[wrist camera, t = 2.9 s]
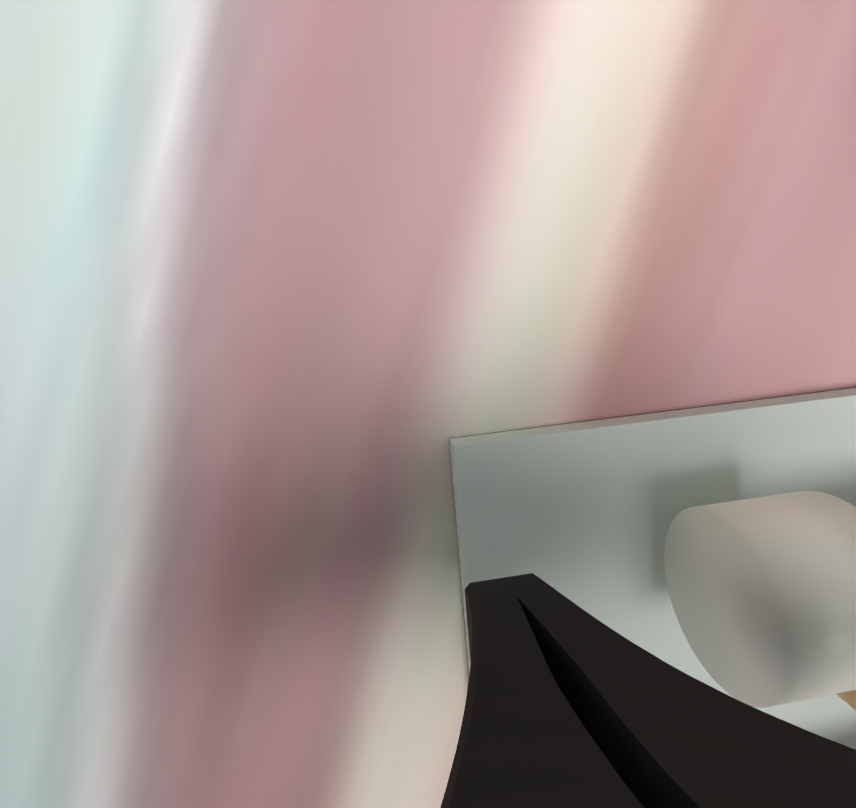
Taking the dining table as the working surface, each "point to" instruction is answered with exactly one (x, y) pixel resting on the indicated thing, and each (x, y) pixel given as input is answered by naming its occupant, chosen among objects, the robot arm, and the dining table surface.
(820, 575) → the ivory knob
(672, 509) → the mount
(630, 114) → the dining table surface
